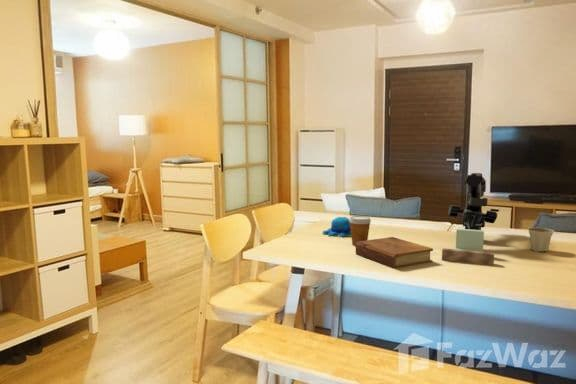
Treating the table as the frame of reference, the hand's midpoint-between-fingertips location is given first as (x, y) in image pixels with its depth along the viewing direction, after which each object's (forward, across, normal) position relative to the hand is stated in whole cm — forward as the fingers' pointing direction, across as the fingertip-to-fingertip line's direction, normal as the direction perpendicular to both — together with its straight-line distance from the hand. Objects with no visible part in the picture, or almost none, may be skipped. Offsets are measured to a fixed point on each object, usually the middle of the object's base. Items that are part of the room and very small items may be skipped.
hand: (471, 231), depth 191 cm
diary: (+24, -29, -10) cm, 39 cm away
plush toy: (+1, -55, +24) cm, 60 cm away
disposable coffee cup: (+13, -44, +6) cm, 46 cm away
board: (+20, -2, -12) cm, 23 cm away
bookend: (+15, -1, -6) cm, 17 cm away
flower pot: (+1, +28, +5) cm, 28 cm away
